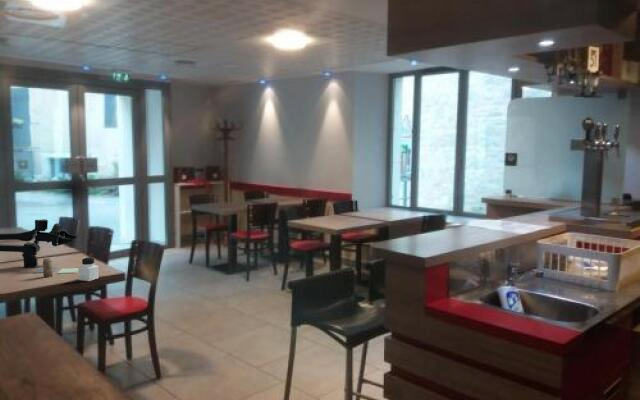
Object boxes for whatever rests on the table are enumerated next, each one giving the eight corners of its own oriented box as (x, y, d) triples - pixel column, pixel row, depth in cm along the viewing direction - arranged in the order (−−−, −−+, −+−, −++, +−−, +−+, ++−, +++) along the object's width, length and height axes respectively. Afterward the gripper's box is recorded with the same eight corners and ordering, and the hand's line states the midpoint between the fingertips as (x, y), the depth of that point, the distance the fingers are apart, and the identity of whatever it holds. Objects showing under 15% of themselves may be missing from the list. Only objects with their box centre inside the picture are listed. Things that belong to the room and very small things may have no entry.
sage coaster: (57, 273, 283) (57, 272, 283) (62, 269, 293) (61, 268, 293) (76, 272, 286) (76, 271, 286) (80, 269, 296) (80, 268, 296)
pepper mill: (42, 277, 275) (41, 259, 274) (44, 275, 279) (43, 258, 278) (51, 277, 276) (50, 259, 275) (53, 275, 280) (52, 257, 279)
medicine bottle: (98, 278, 274) (98, 256, 273) (89, 281, 268) (88, 259, 267) (88, 277, 277) (87, 255, 276) (78, 280, 270) (77, 258, 269)
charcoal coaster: (33, 273, 285) (33, 272, 284) (38, 269, 294) (38, 268, 294) (52, 272, 287) (52, 271, 287) (57, 268, 297) (57, 267, 297)
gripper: (41, 227, 291) (70, 228, 294) (52, 221, 309) (79, 222, 313) (41, 245, 293) (69, 247, 296) (51, 238, 311) (78, 240, 314)
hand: (74, 238), depth 304 cm, fingers open, 9 cm apart
